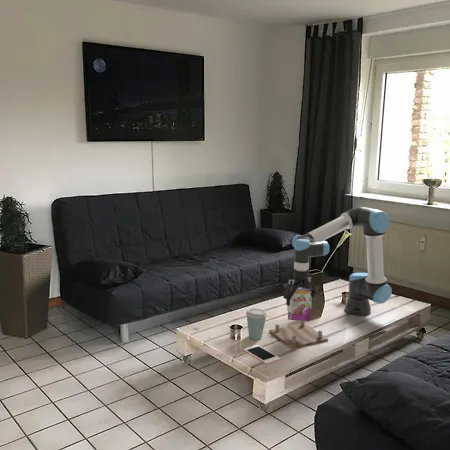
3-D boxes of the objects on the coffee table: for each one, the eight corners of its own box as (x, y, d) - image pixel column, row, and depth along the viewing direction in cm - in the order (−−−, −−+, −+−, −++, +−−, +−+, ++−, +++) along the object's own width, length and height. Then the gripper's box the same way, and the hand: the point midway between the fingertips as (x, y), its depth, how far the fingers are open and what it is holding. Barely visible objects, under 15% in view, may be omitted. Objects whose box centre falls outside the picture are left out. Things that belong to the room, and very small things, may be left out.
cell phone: (266, 365, 233) (266, 363, 233) (242, 350, 247) (242, 348, 247) (280, 359, 238) (280, 358, 238) (256, 346, 252) (256, 344, 252)
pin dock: (303, 325, 278) (304, 317, 277) (328, 341, 258) (328, 332, 257) (269, 332, 268) (269, 323, 267) (292, 348, 249) (292, 340, 248)
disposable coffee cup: (253, 331, 269) (254, 305, 266) (270, 337, 262) (271, 310, 259) (241, 338, 261) (242, 310, 258) (258, 343, 254) (259, 316, 251)
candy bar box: (287, 320, 259) (289, 290, 256) (287, 316, 264) (289, 286, 261) (309, 321, 258) (311, 291, 255) (309, 317, 263) (310, 288, 260)
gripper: (316, 264, 264) (313, 303, 268) (277, 269, 254) (275, 310, 258) (324, 268, 257) (322, 308, 262) (285, 273, 247) (283, 315, 252)
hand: (299, 309), depth 260 cm, fingers closed on candy bar box, 12 cm apart
